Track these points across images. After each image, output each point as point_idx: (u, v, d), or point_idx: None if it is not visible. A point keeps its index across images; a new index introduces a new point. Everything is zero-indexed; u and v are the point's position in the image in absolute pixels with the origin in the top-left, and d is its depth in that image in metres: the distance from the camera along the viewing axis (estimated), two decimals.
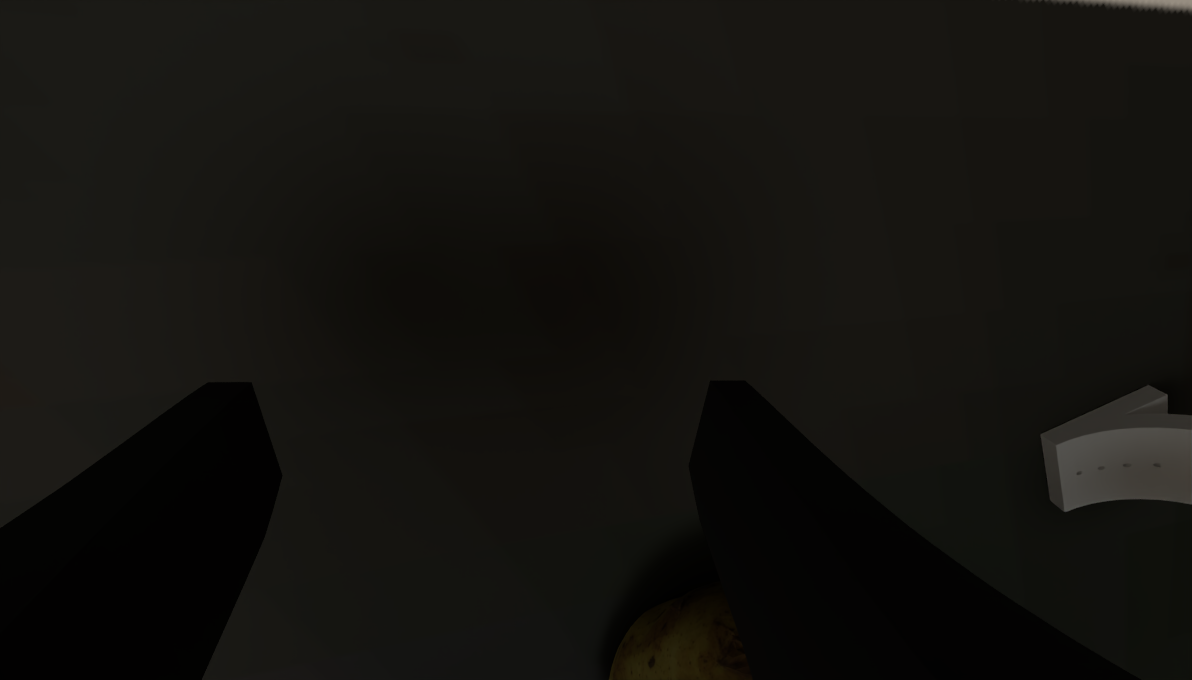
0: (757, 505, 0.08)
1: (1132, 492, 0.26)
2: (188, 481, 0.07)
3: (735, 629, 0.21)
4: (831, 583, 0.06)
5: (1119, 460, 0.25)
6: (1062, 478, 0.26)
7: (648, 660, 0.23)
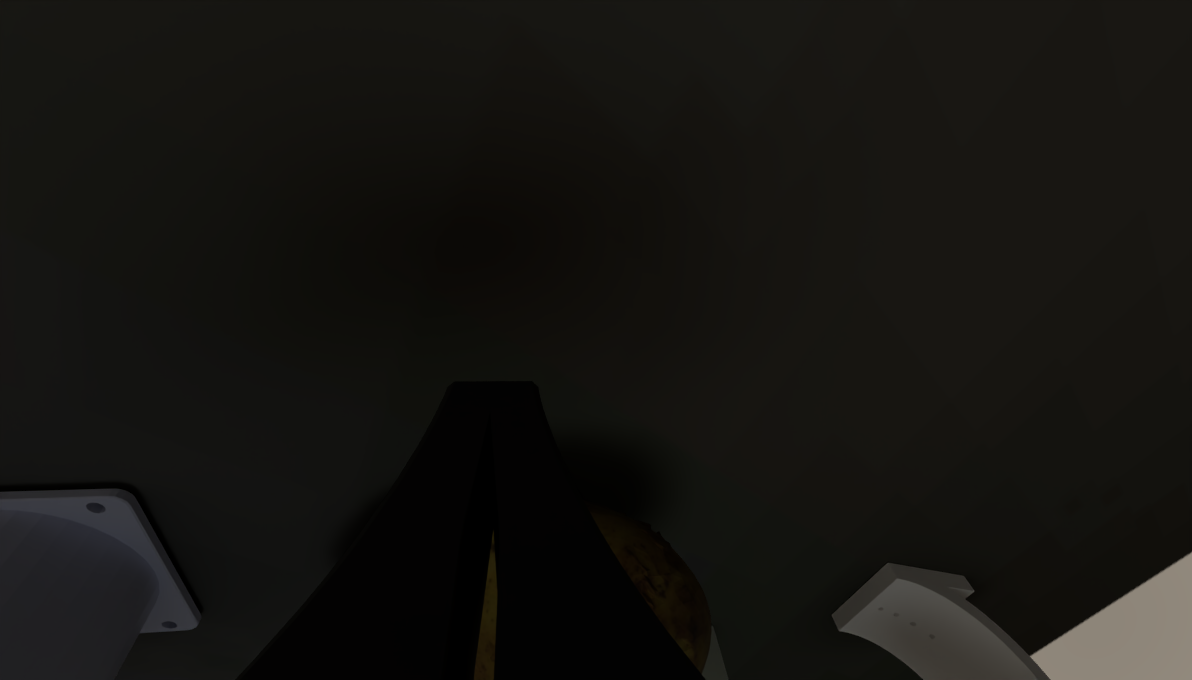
0: None
1: (891, 645, 0.28)
2: (482, 472, 0.07)
3: (649, 570, 0.16)
4: None
5: (913, 617, 0.27)
6: (868, 605, 0.27)
7: None
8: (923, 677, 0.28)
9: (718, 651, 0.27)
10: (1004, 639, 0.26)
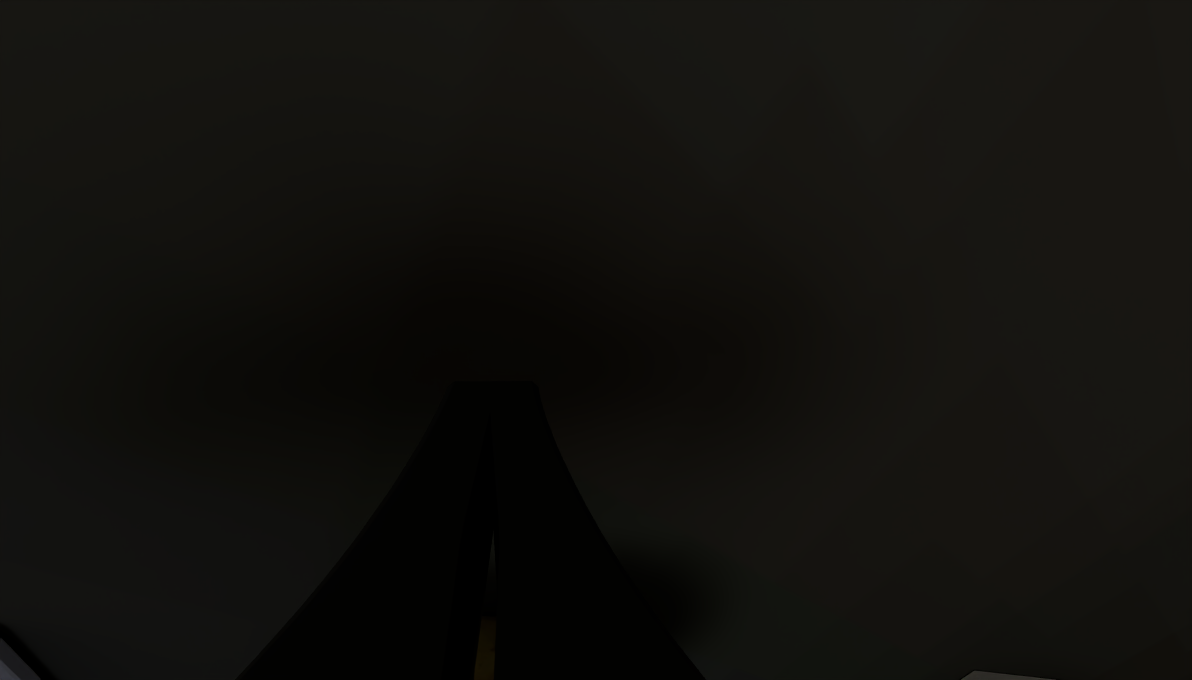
0: None
1: None
2: (481, 473, 0.07)
3: None
4: None
5: None
6: None
7: None
8: None
9: None
10: None
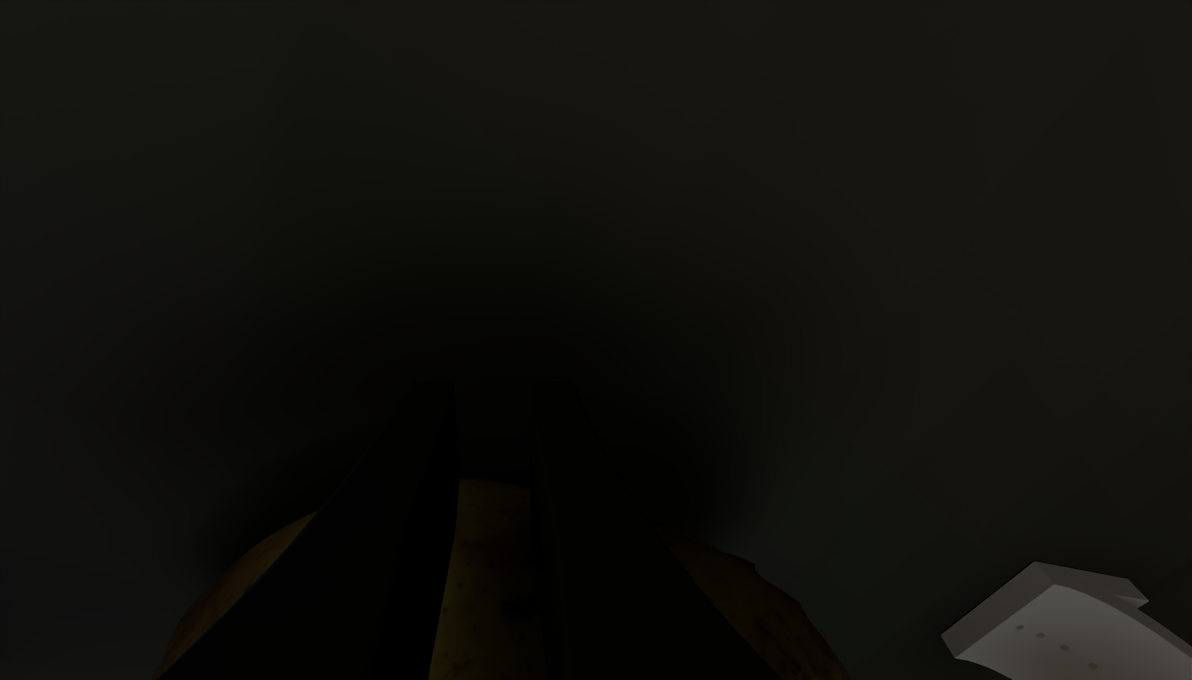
0: (543, 512, 0.07)
1: (1028, 677, 0.20)
2: (433, 474, 0.07)
3: (802, 668, 0.09)
4: (560, 598, 0.06)
5: (1066, 639, 0.19)
6: (1003, 622, 0.19)
7: (511, 599, 0.09)
8: None
9: None
10: None
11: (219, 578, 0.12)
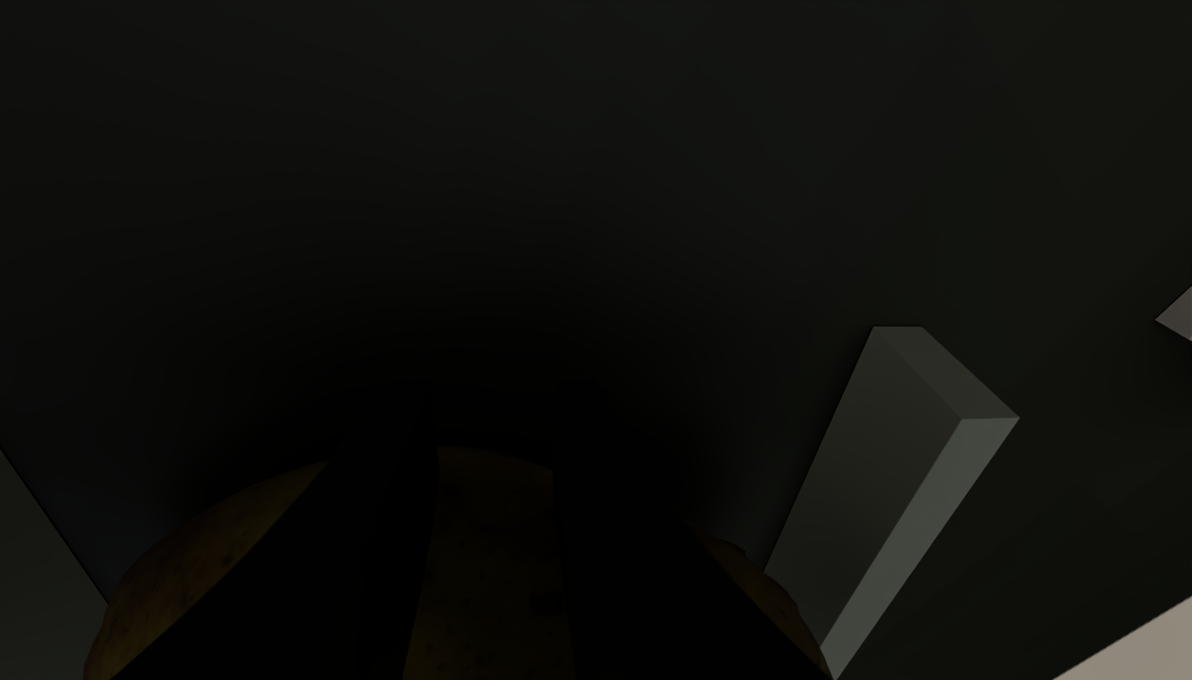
0: (574, 511, 0.07)
1: None
2: (406, 475, 0.07)
3: None
4: (599, 596, 0.06)
5: None
6: None
7: (538, 593, 0.09)
8: None
9: (953, 360, 0.12)
10: None
11: (175, 536, 0.10)
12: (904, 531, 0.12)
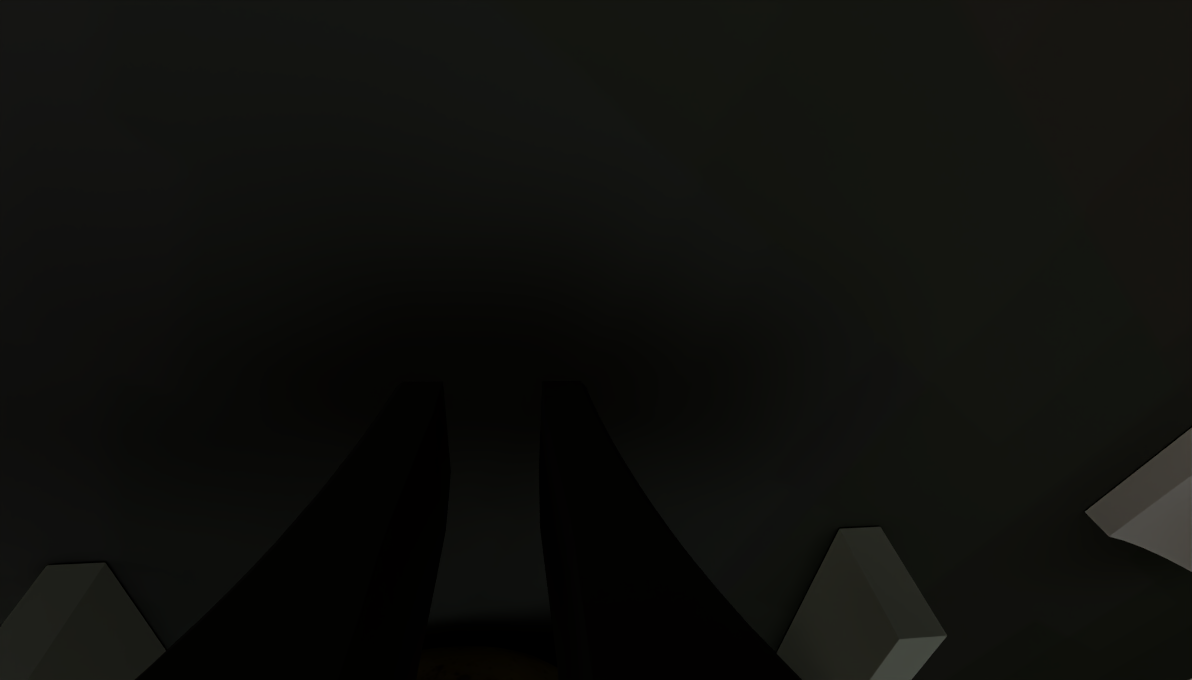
0: (555, 512, 0.07)
1: None
2: (421, 474, 0.07)
3: None
4: (575, 597, 0.06)
5: None
6: (1184, 481, 0.15)
7: None
8: None
9: (902, 567, 0.15)
10: None
11: None
12: None
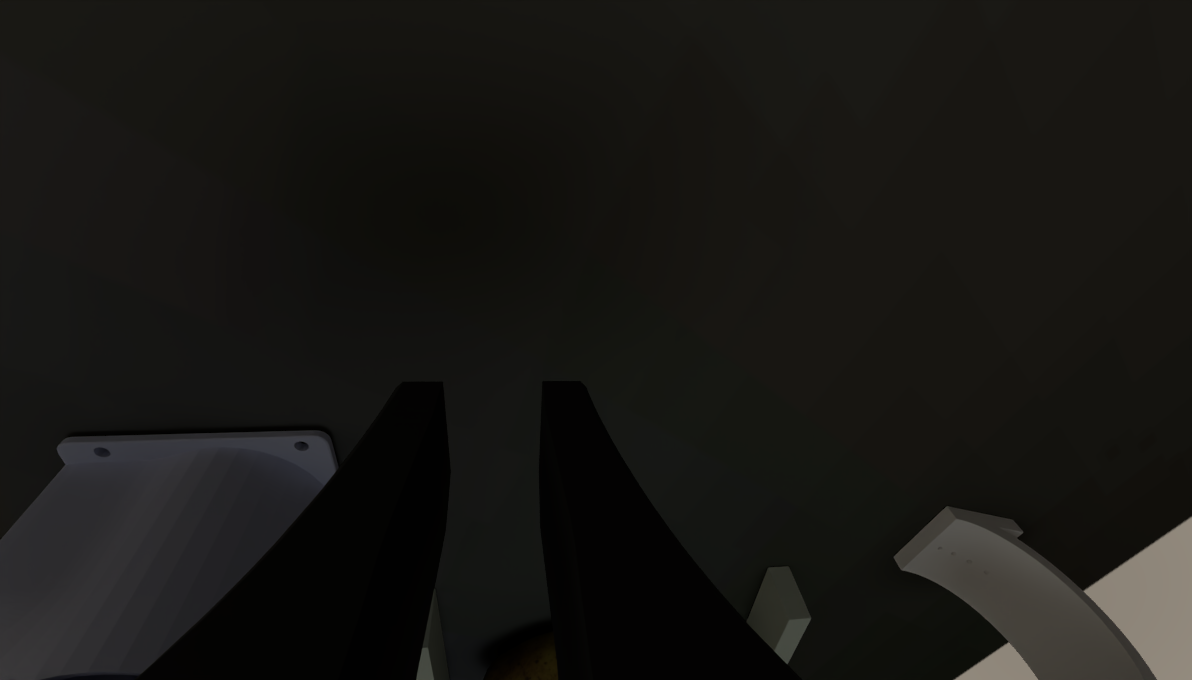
0: (555, 512, 0.07)
1: (948, 582, 0.32)
2: (421, 474, 0.07)
3: None
4: (576, 597, 0.06)
5: (969, 555, 0.31)
6: (929, 545, 0.31)
7: None
8: (978, 610, 0.31)
9: (796, 586, 0.31)
10: (1052, 570, 0.29)
11: (510, 654, 0.32)
12: (779, 651, 0.31)
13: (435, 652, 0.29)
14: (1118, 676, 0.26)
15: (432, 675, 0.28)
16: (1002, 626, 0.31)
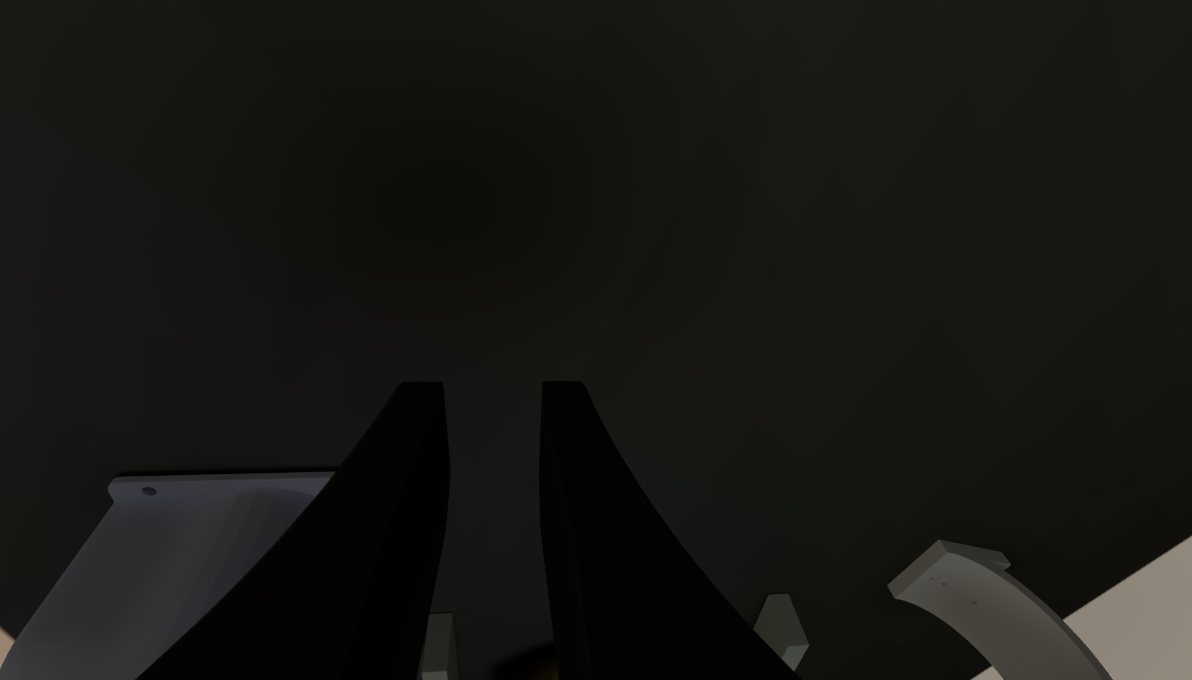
0: (555, 512, 0.07)
1: (939, 610, 0.33)
2: (421, 474, 0.07)
3: None
4: (575, 597, 0.06)
5: (959, 586, 0.32)
6: (921, 575, 0.32)
7: None
8: (966, 637, 0.33)
9: (794, 614, 0.32)
10: (1037, 603, 0.31)
11: (521, 674, 0.33)
12: None
13: (451, 673, 0.31)
14: None
15: None
16: (989, 654, 0.32)
